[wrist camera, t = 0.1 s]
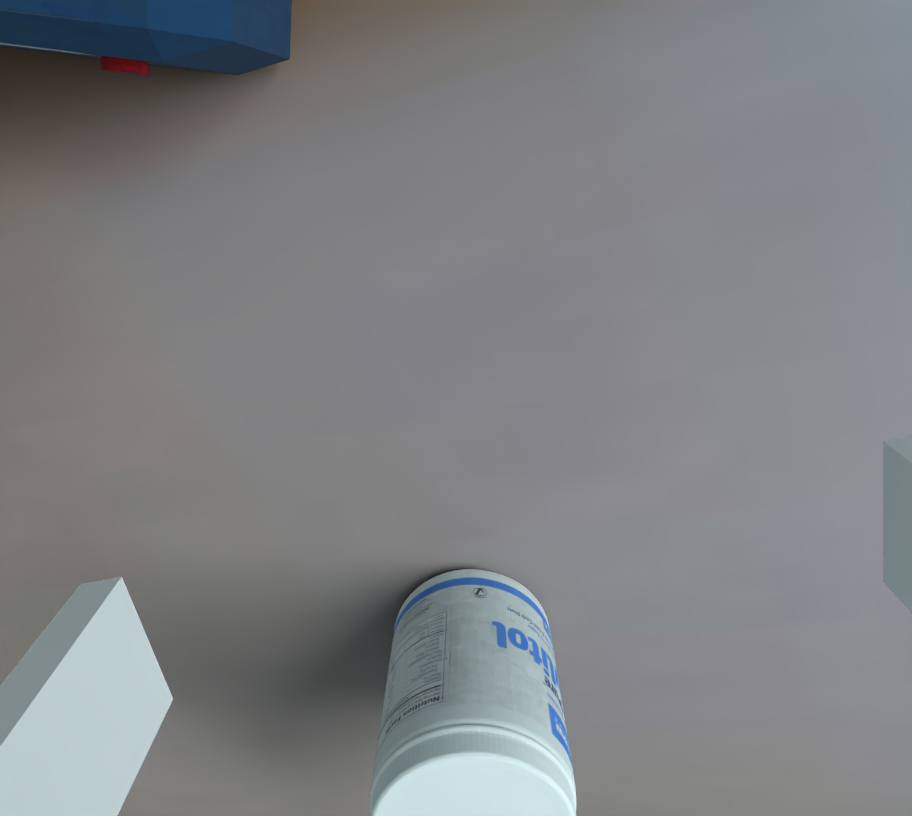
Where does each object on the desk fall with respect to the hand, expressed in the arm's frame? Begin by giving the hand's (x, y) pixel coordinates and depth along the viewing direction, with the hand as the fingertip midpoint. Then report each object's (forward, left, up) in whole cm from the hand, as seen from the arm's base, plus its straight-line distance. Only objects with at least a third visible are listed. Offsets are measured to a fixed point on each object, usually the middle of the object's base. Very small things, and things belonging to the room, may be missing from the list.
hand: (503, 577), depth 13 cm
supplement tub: (+22, -4, -28) cm, 36 cm away
